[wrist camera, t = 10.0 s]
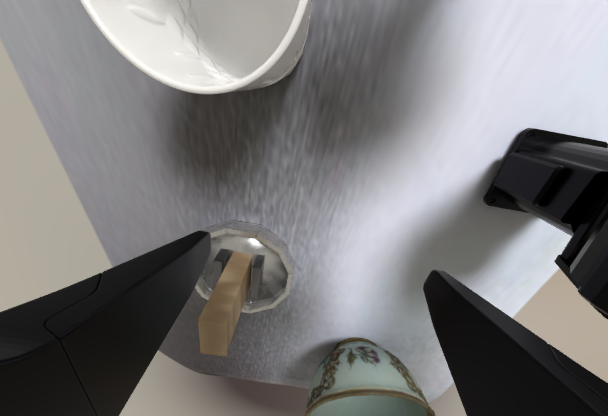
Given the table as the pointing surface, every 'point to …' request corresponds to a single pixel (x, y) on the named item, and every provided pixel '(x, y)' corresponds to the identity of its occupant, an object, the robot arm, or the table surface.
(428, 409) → the bowl
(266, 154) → the table surface
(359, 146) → the table surface
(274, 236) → the tin
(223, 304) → the wooden plank
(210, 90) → the white cup
